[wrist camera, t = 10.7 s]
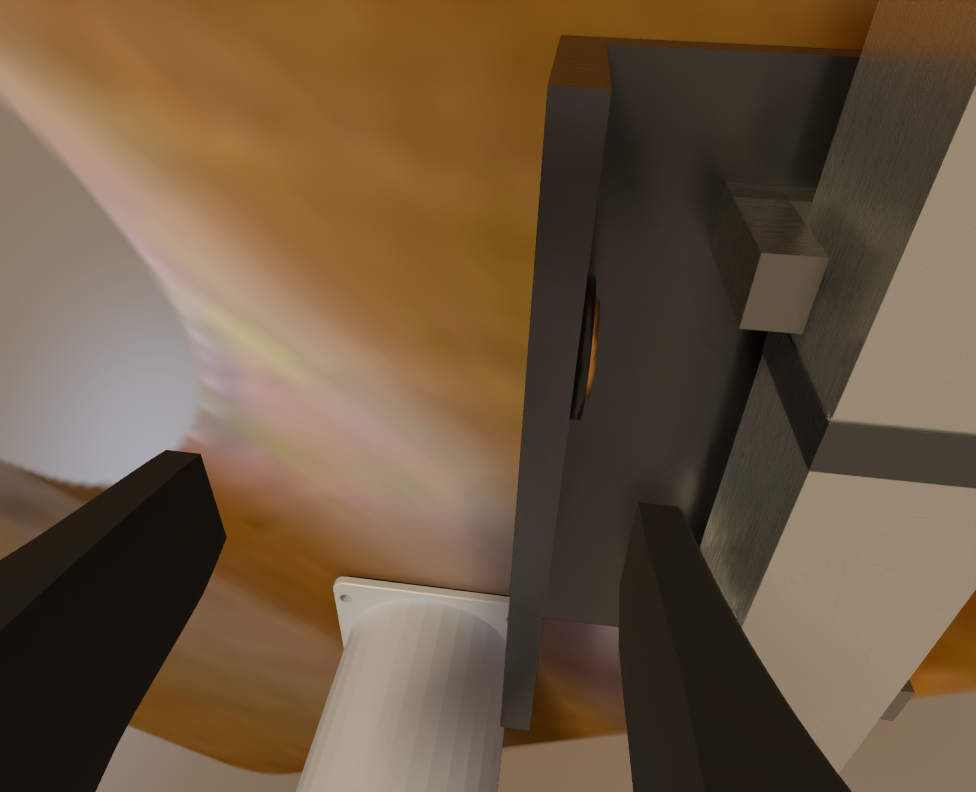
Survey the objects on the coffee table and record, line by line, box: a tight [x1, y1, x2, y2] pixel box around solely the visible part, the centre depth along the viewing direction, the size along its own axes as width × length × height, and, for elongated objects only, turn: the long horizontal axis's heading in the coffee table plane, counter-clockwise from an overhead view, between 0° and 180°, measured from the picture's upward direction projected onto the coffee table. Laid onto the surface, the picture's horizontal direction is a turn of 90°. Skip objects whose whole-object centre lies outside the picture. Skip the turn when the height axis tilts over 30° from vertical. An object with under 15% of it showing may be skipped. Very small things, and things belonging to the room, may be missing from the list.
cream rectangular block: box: [700, 0, 976, 774], centre depth 16 cm, size 20×4×4 cm, turn 178°
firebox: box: [500, 35, 915, 731], centre depth 18 cm, size 20×15×6 cm
